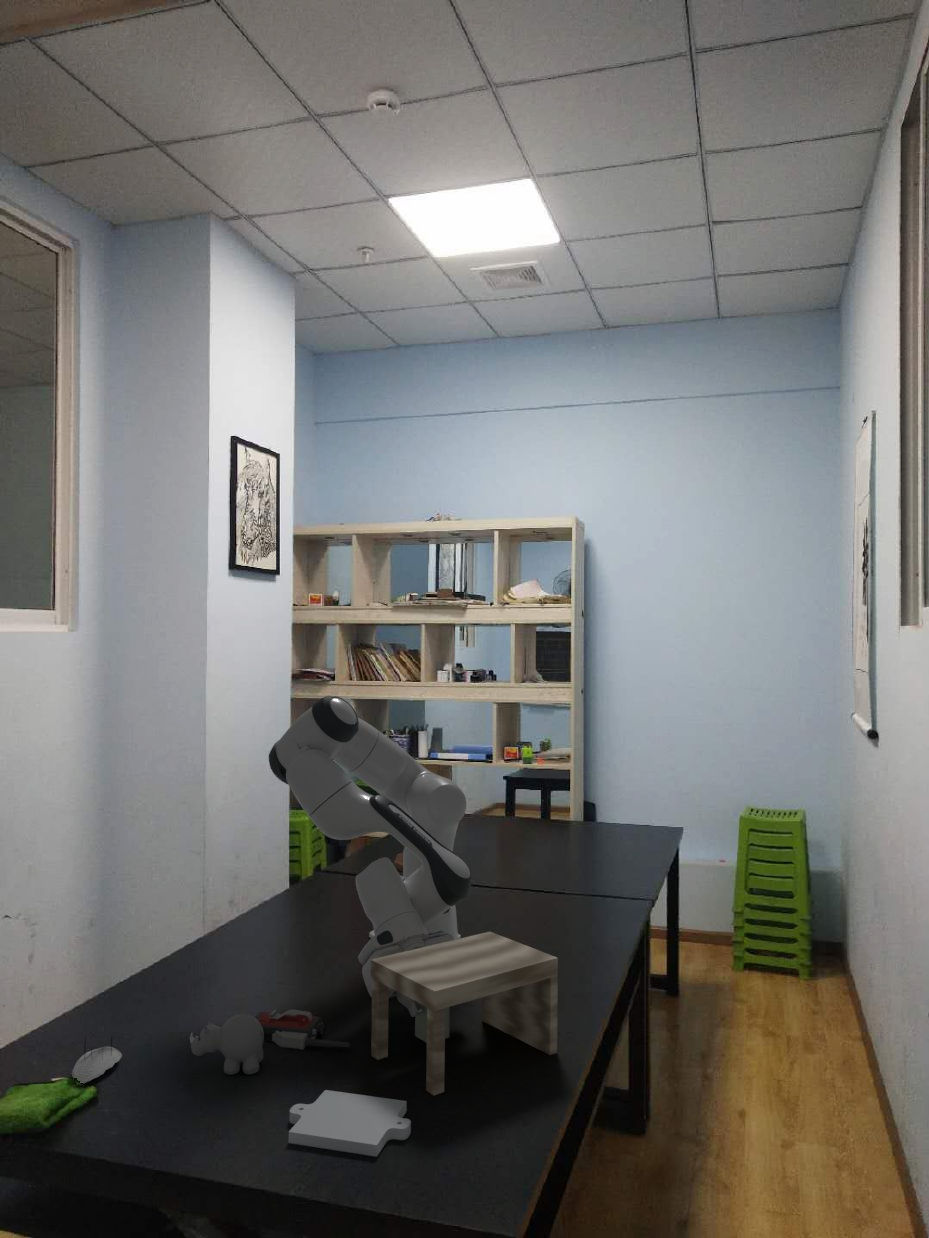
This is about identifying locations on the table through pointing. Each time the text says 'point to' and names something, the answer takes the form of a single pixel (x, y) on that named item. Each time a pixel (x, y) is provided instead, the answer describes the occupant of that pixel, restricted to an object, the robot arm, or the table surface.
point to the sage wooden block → (422, 1024)
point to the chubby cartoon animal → (233, 1043)
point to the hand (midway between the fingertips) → (434, 1009)
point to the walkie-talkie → (294, 1029)
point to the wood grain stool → (469, 992)
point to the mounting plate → (349, 1122)
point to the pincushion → (95, 1063)
